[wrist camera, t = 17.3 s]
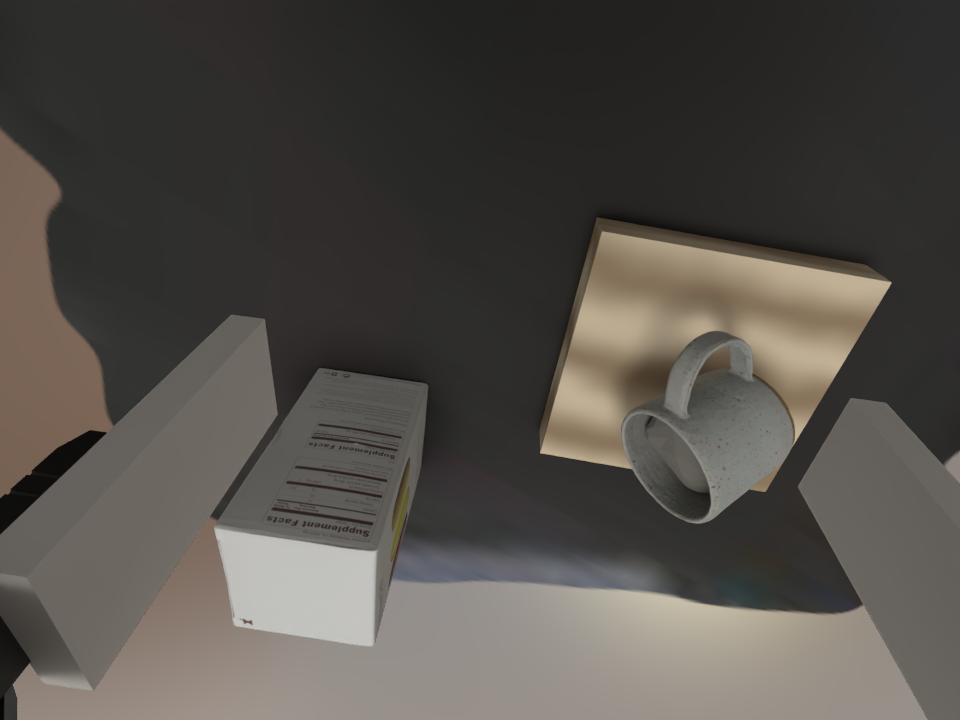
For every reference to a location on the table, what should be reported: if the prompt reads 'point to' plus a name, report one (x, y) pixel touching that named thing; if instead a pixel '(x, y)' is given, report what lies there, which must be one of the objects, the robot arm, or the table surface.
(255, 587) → the supplement box
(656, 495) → the ceramic mug
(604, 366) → the square wooden tile
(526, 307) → the table surface
